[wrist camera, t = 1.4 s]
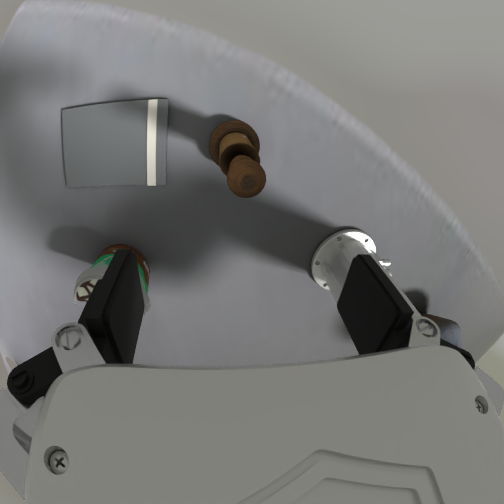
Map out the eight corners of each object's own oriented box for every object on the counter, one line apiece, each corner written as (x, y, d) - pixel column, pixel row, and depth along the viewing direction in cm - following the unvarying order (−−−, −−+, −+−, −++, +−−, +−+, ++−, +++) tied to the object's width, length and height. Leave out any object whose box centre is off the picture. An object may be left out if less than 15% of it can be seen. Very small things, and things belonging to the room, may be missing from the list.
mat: (169, 99, 30) (167, 99, 29) (166, 183, 36) (165, 185, 36) (65, 109, 28) (61, 110, 27) (69, 186, 34) (66, 188, 33)
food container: (158, 241, 41) (145, 280, 33) (158, 273, 44) (148, 315, 36) (87, 234, 39) (63, 270, 30) (92, 265, 42) (71, 304, 33)
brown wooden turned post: (207, 122, 33) (200, 143, 18) (257, 119, 33) (292, 138, 18) (211, 168, 36) (208, 227, 21) (258, 165, 37) (290, 221, 22)
